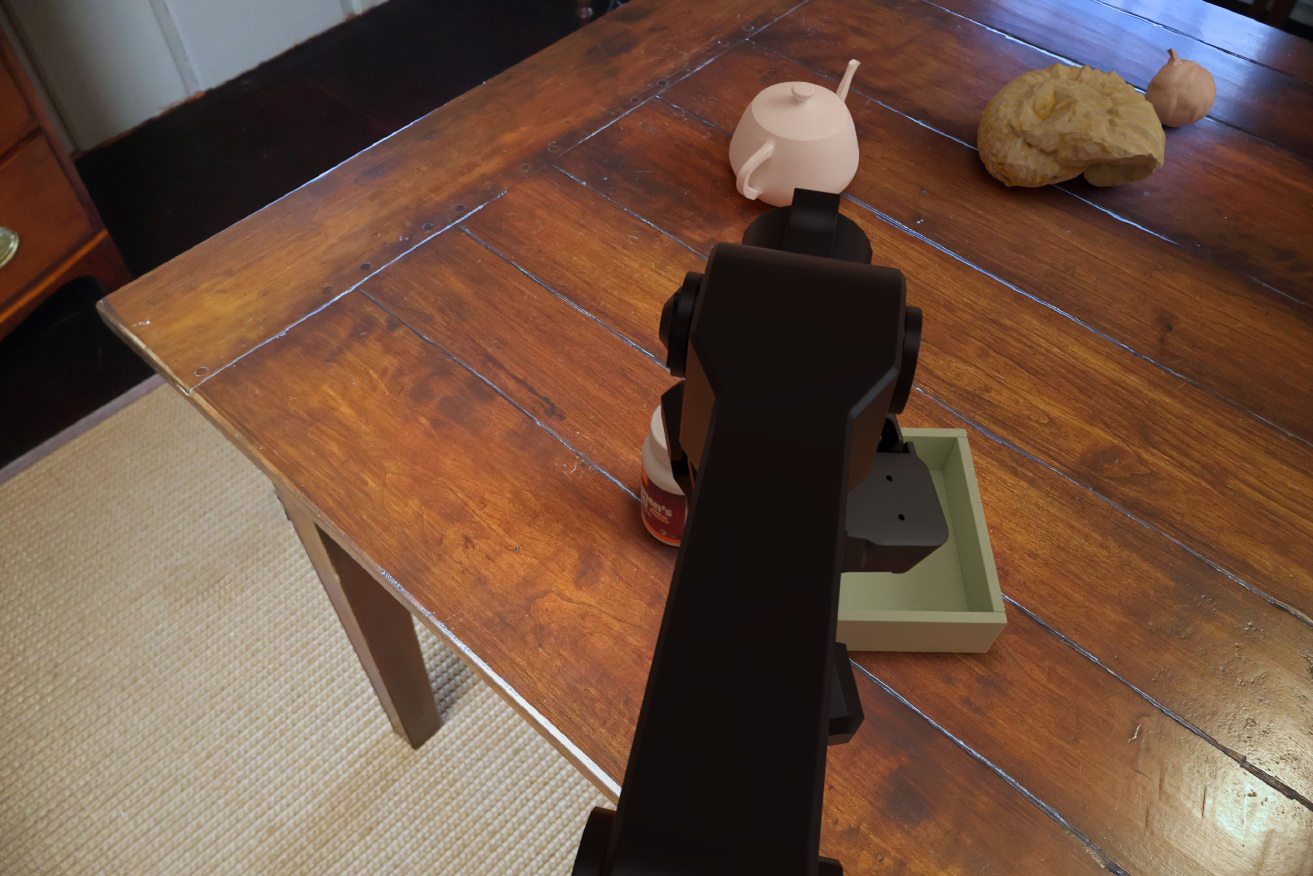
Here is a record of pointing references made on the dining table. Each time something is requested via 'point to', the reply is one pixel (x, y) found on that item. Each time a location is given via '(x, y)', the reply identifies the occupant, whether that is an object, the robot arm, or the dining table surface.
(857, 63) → the teapot
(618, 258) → the dining table surface
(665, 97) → the dining table surface
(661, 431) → the pill bottle
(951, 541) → the open box
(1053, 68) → the seashell
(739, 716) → the robot arm
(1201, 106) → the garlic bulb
